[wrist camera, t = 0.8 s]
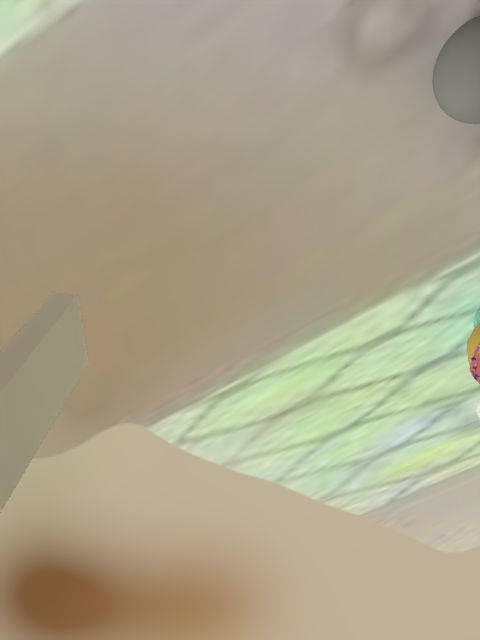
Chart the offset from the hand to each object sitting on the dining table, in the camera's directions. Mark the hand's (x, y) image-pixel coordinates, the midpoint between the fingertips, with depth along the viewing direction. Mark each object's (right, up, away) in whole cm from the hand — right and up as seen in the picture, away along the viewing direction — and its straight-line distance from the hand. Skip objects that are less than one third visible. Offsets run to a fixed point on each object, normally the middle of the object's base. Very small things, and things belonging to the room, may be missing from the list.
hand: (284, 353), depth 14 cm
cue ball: (+12, +15, +11) cm, 22 cm away
